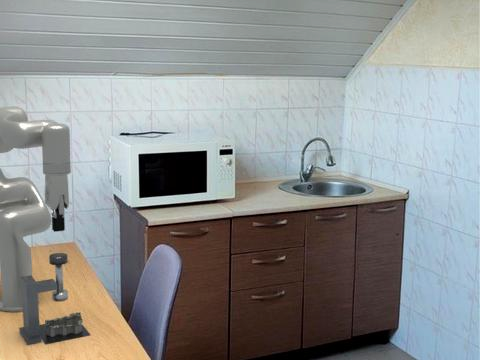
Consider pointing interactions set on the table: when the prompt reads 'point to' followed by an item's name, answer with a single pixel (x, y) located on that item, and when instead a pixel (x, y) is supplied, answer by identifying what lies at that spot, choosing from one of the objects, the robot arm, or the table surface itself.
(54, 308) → the table surface
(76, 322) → the egg carton
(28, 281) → the press frame
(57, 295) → the disc
